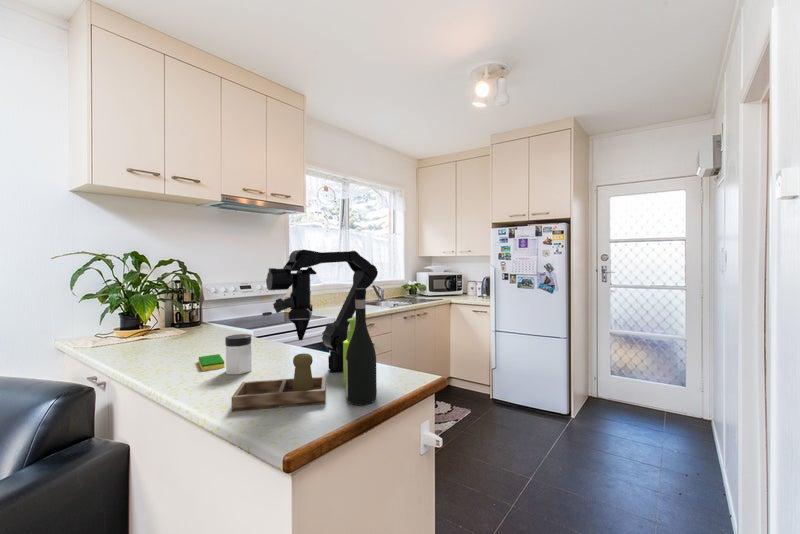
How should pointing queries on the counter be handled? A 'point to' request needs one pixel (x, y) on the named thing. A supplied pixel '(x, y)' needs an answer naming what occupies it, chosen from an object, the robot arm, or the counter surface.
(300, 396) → the holder
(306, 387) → the cork
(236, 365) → the jar
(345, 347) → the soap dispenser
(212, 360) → the dish sponge
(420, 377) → the counter surface
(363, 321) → the wine bottle
